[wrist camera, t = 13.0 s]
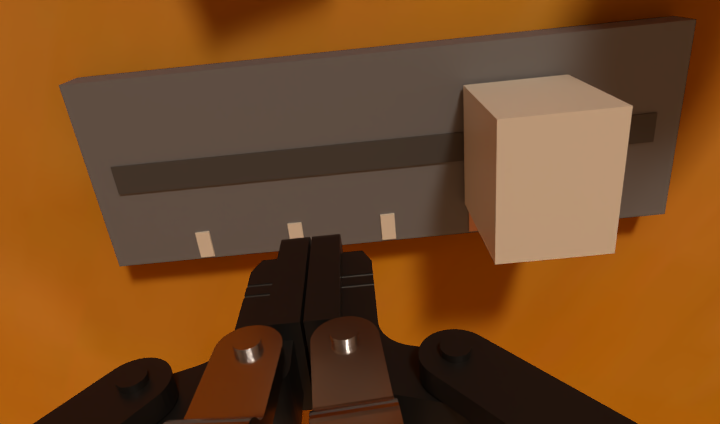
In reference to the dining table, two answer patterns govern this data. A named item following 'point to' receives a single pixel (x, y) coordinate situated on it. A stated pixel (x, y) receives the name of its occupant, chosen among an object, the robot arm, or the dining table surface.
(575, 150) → the knob
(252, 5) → the dining table surface
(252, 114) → the board
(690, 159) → the dining table surface
